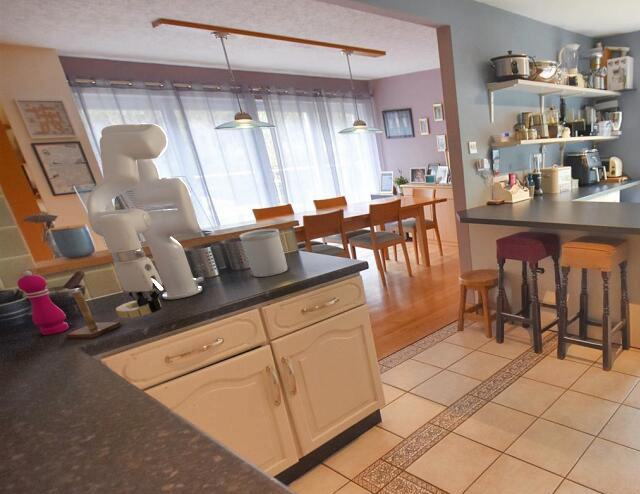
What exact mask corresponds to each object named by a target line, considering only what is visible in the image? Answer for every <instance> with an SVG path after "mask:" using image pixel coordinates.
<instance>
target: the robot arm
mask: <svg viewBox="0 0 640 494" xmlns="http://www.w3.org/2000/svg"><path fill="white" fill-rule="evenodd" d="M100 133H101V136H100V139H99V150H100V151H99V153H100V159H101V168H102V176H103V177H102V179H101V180H100V181H99V182H98V183H97V184H95V186H94V188H93V189H92V190H91V192H90V193H89V195H88V197H87V201H86V208H87V218H88V222H89V227H90V228H91V230H92V231H93V232H94V233H95V234H96V235H97V236H101V237H103V239H104V241H105V243H106V246H107V248H108V250H109V253H110V256H111V257H112V259H113V265H114V266H113V267H114V270H115V274H116V277H117V281H118V282H119V285H120V287H121V288H122V293H124V294H126V295H129V296H130V297H132V298H133V301H137V303H138V305H139V307H140V306H144V305H146V304H148V305H149V307H150V310H151V312H152V313H156V312H158V311H160V310H162V307H161V306H162V305H161V306H160V303H161V302H160V303H159V301H160V300H159V301H158V299H159V297H160V294H161V293H163V294H162V296H161V297H162V299H164V300H177V299H178V300H179V299H183V298H188V297H191V296H194V295H197V294H199V293H201V292H203V287H202V286H200V285H199V284H200V283H203V282H204V281H205V278H204V277H203V276H200V277H197V278H195V277H194V276H193V273H192V270H191V267H190V264H189V261H188V259H187V256H186V253H185V250H184V247H183V245H182V244H181V243H180V242H178V240H176V239H175V238H173V237H177V236H186V235H193V234H195V233H197V232H198V230H199V222H198V218H197V214H196V210H195V206H194V203H193V199H192V195H191V192H190V189H189V187H188V185H187V183H186V182H185V181H184V180H183V179H182V178H179V177H161V174H160V172H159V169H158V165H157V163H156V162H155V161H154V160H153V159H157V158H159V157H161V156H162V155H163V153H164V152H165V151H166V149H167V147H168V141H169V140H168V137H167V133H166V131H165V130H164V128H162V127H161V126H160V125H158V124H156V123H135V124H133V123H131V124H130V123H129V124H113V125H107V126H104V127H103V128H102V129H101V131H100ZM130 190H132V191H133V194H134V197H135V200H136V202H137V204H139V205H140V206H141V207H145V208H157V207H158V208H159V207H167V206H176V208H168V209H157V210H156V209H155V210H149V211H145V210H144V209H141V208H126V209H112V210H106V209H107V207H108V205H109V203H110V202H111V201H112V200H113V199H115V198H116V197H119V196H121V195H122V194H124V193H126V192H128V191H130ZM138 234H141V236H142V237H143V238H144V240H145V242H146V243H147V246H148V248H149V250H150V253H151V257H152V258H153V261H154V263H155V264H154V263H153V262H152V260H151V259H150V258H149V257H147V255H146V254H147V253H146V251H145V250H144V248H143V246H142V244H141V241H140V238H139V236H138ZM163 287H164V288H163ZM164 291H165V292H164ZM148 300H149V301H148ZM152 313H151V314H152Z"/></svg>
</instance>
